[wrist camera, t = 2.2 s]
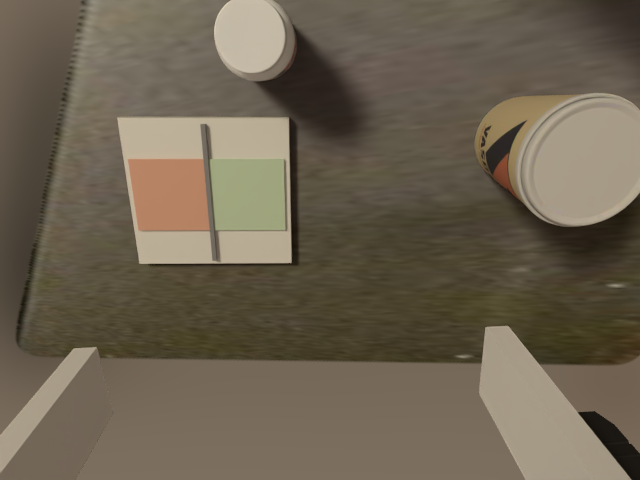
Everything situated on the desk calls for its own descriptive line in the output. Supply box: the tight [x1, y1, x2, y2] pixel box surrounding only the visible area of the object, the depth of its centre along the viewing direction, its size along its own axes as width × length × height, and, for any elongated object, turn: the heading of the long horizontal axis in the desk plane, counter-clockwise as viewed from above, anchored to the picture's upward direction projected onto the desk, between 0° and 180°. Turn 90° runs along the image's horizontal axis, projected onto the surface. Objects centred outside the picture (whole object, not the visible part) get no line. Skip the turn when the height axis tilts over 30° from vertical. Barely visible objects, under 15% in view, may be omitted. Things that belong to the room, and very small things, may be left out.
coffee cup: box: [475, 93, 640, 227], centre depth 36 cm, size 9×9×12 cm
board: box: [117, 117, 292, 264], centre depth 42 cm, size 14×15×2 cm
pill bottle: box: [214, 0, 297, 81], centre depth 34 cm, size 6×6×10 cm
